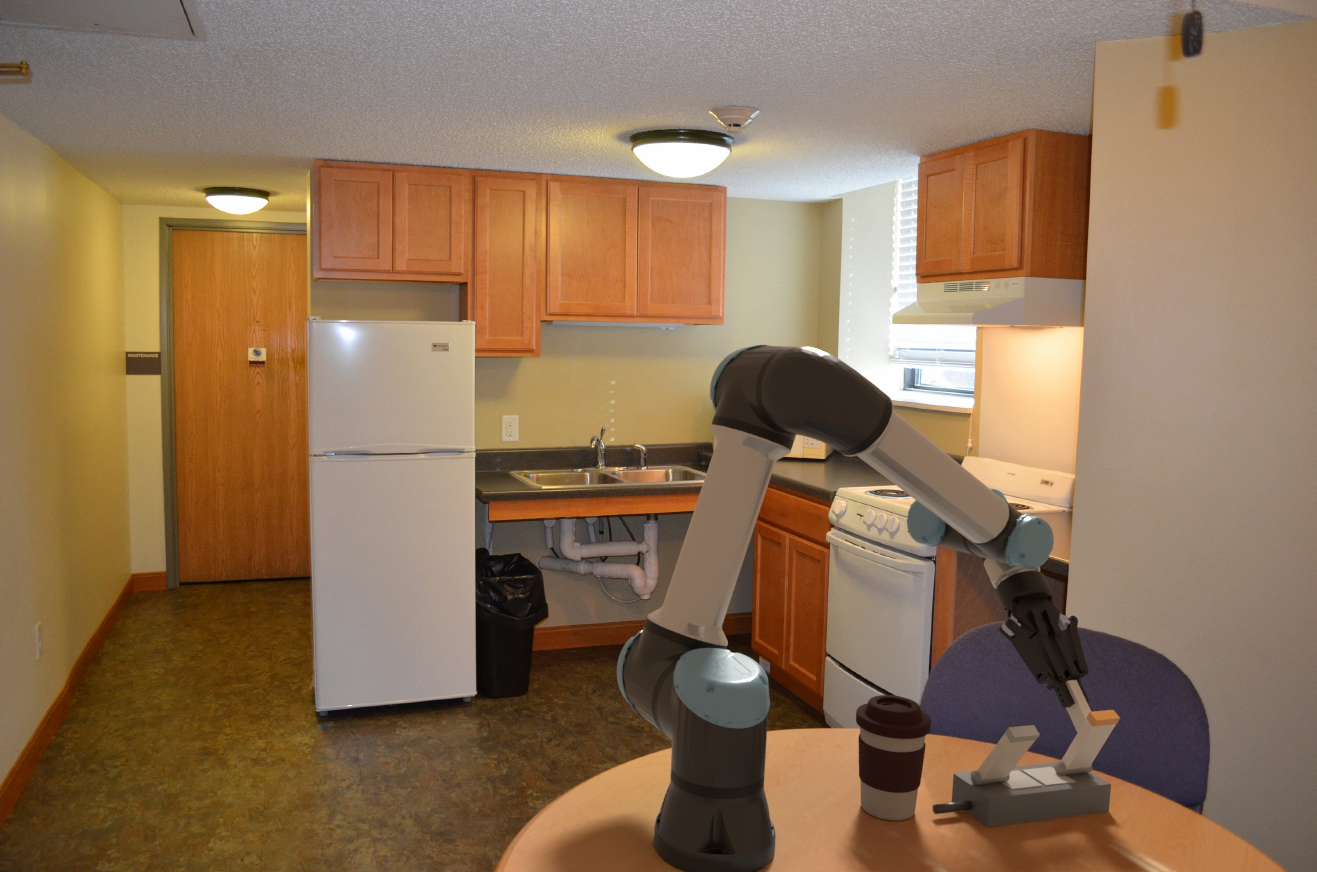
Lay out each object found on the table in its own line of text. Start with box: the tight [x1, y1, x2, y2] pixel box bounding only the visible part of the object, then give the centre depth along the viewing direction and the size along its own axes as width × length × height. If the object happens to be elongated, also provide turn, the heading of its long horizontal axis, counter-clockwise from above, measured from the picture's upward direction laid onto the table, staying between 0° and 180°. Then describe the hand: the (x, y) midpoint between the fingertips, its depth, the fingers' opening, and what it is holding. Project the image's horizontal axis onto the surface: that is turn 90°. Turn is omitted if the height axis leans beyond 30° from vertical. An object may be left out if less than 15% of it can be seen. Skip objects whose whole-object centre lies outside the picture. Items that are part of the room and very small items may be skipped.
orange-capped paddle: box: [1055, 709, 1121, 775], centre depth 135 cm, size 5×2×12 cm, turn 108°
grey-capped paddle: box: [971, 724, 1041, 785], centre depth 130 cm, size 5×2×12 cm
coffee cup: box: [855, 694, 932, 821], centre depth 132 cm, size 10×10×15 cm
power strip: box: [931, 761, 1112, 828], centre depth 135 cm, size 26×8×4 cm, turn 108°
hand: (1087, 727), depth 135 cm, fingers closed
